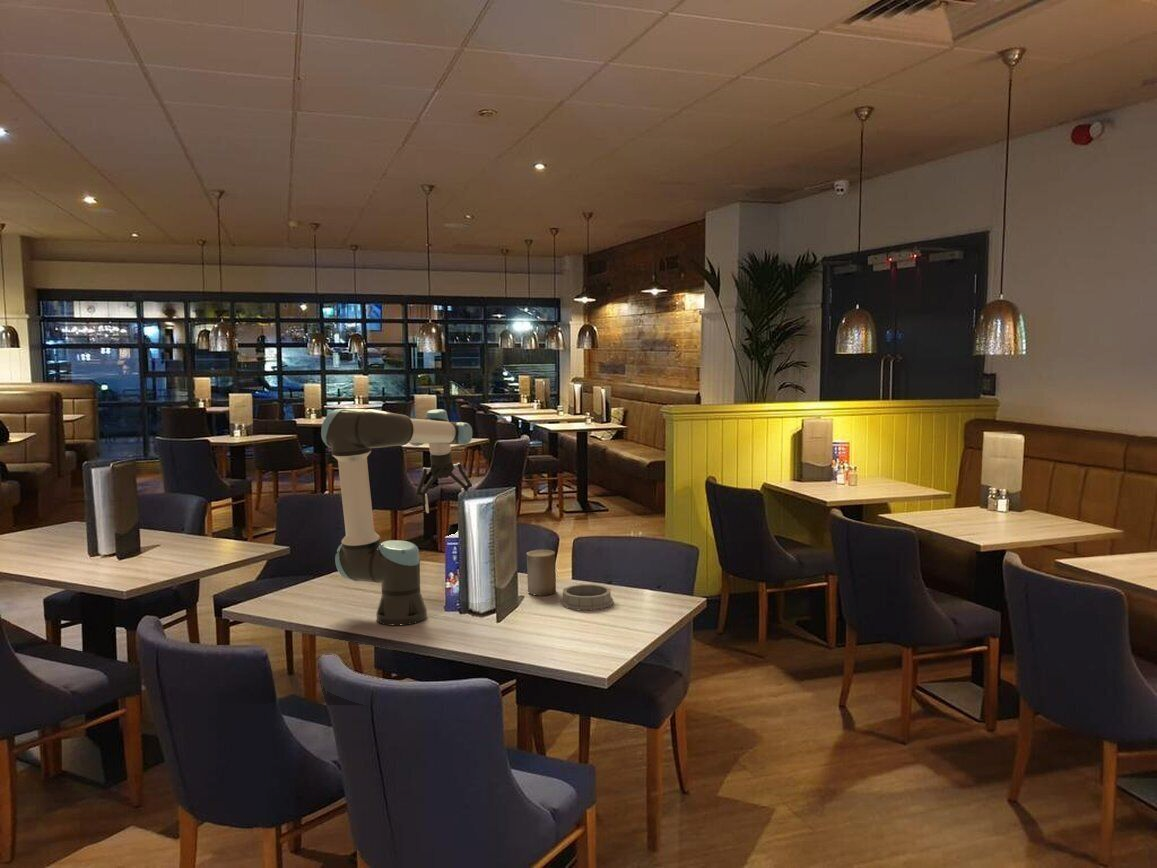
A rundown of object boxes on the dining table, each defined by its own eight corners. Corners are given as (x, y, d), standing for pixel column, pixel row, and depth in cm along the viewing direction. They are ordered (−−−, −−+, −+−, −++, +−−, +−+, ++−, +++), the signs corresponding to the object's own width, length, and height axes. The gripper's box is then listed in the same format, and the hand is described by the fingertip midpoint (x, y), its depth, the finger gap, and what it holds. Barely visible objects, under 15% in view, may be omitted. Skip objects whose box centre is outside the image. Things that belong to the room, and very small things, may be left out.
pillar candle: (557, 588, 291) (556, 545, 290) (554, 596, 281) (553, 552, 280) (529, 588, 292) (528, 545, 291) (525, 596, 282) (524, 552, 281)
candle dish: (612, 610, 265) (612, 598, 264) (558, 610, 266) (558, 597, 265) (613, 595, 282) (613, 583, 281) (562, 595, 283) (562, 583, 282)
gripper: (472, 446, 309) (477, 501, 314) (404, 455, 302) (410, 511, 306) (476, 450, 302) (482, 506, 307) (406, 459, 295) (413, 517, 299)
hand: (446, 509), depth 307 cm, fingers open, 13 cm apart
